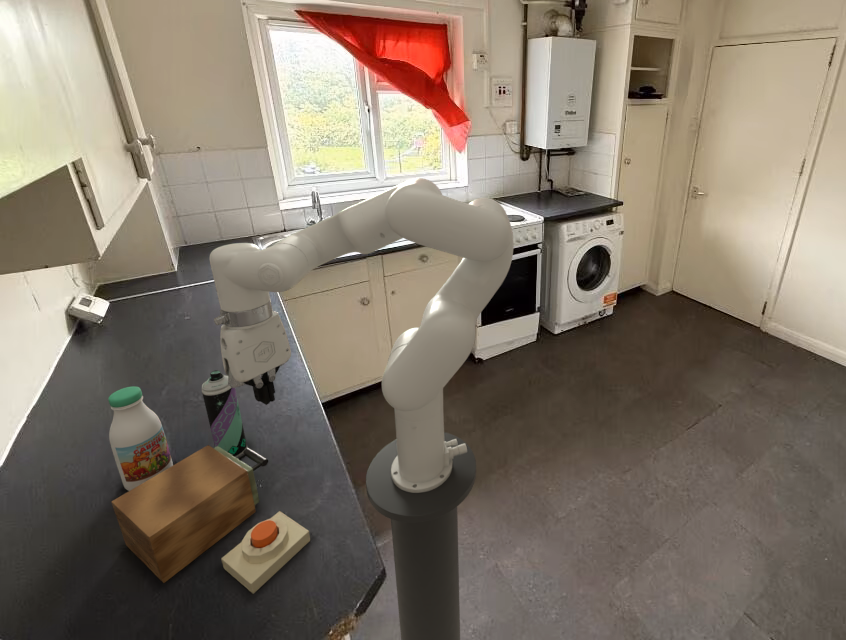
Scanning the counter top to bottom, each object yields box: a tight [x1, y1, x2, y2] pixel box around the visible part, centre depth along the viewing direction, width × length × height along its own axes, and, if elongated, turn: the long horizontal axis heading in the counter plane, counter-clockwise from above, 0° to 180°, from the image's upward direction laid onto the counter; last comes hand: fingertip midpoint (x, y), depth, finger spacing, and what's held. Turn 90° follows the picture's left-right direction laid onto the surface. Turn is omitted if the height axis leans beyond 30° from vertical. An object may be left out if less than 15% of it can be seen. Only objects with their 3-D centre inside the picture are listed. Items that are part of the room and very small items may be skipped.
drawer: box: [213, 446, 269, 506], centre depth 76 cm, size 18×11×8 cm, turn 151°
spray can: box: [201, 369, 248, 458], centre depth 89 cm, size 6×6×20 cm
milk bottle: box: [107, 385, 174, 492], centre depth 82 cm, size 8×8×20 cm
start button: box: [251, 519, 278, 548], centre depth 69 cm, size 4×4×2 cm
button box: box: [221, 510, 311, 595], centre depth 70 cm, size 10×8×4 cm
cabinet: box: [111, 444, 257, 584], centre depth 73 cm, size 15×13×10 cm
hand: (266, 400), depth 80 cm, fingers closed
